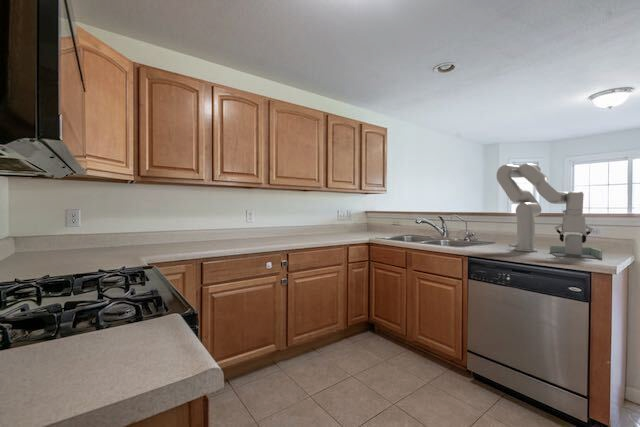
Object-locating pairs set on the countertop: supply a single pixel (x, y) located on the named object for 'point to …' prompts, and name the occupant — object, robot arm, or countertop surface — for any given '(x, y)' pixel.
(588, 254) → the arena
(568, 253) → the can
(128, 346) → the countertop surface
